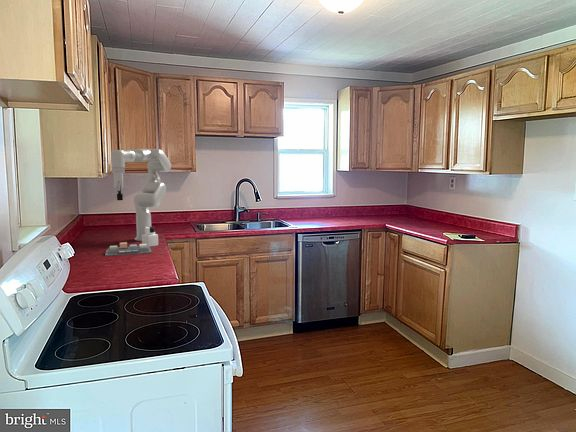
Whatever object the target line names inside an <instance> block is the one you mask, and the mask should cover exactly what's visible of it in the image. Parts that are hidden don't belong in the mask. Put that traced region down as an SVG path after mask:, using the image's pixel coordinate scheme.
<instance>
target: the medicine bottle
mask: <svg viewBox="0 0 576 432" xmlns="http://www.w3.org/2000/svg"><path fill="white" fill-rule="evenodd" d="M154 233H155V234H154ZM141 244H147V246H148V247H150V248H152V247H157V246H159V234H157V233H156V228H155V226H151V227H145V234H143V235H142V241H141Z"/></svg>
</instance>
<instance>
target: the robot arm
mask: <svg viewBox="0 0 576 432" xmlns="http://www.w3.org/2000/svg"><path fill="white" fill-rule="evenodd" d="M110 158H111V163H110V164H111V173H112V174H113V187H114V190H116V200H117V201H123V200H124V198H123V196H124V195H123V189H124V174H125V173H126V163H143V162H146V163H147V164H146V165H147V167H146V168H147V172H148V173H147V174H148V177H147V179H146V181H145V183H144V184H143V187H142V188H141V191H142V192H139V193H137V194H135V195H134V197H133V204H134V207H135V218H136V219H135V222H136V237H134V241H136V242H137V241H138V242H139V241H140V242H142V235H143V234H145V227H152V214H151V211H150V208H152V209H153V208H158V207H159V206H160V204H162V200H163V199H164V197H165V195H166V193H167V186H166V184H165V183H164V182H162V181H161V176H160V175H159V174H158V173H168V172H170V171H171V169H172V163H171V161H170V159H169V158H168V156H167V154H166V153H165V152H164V151H163V150H162V149H161V148H133V149H113V150H111V151H110ZM154 234H156V232H155V233H154Z"/></svg>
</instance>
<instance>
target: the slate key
mask: <svg viewBox="0 0 576 432" xmlns="http://www.w3.org/2000/svg"><path fill="white" fill-rule="evenodd" d="M137 246H138V245H137V244H129V247H130V249H131V248H137Z"/></svg>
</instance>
